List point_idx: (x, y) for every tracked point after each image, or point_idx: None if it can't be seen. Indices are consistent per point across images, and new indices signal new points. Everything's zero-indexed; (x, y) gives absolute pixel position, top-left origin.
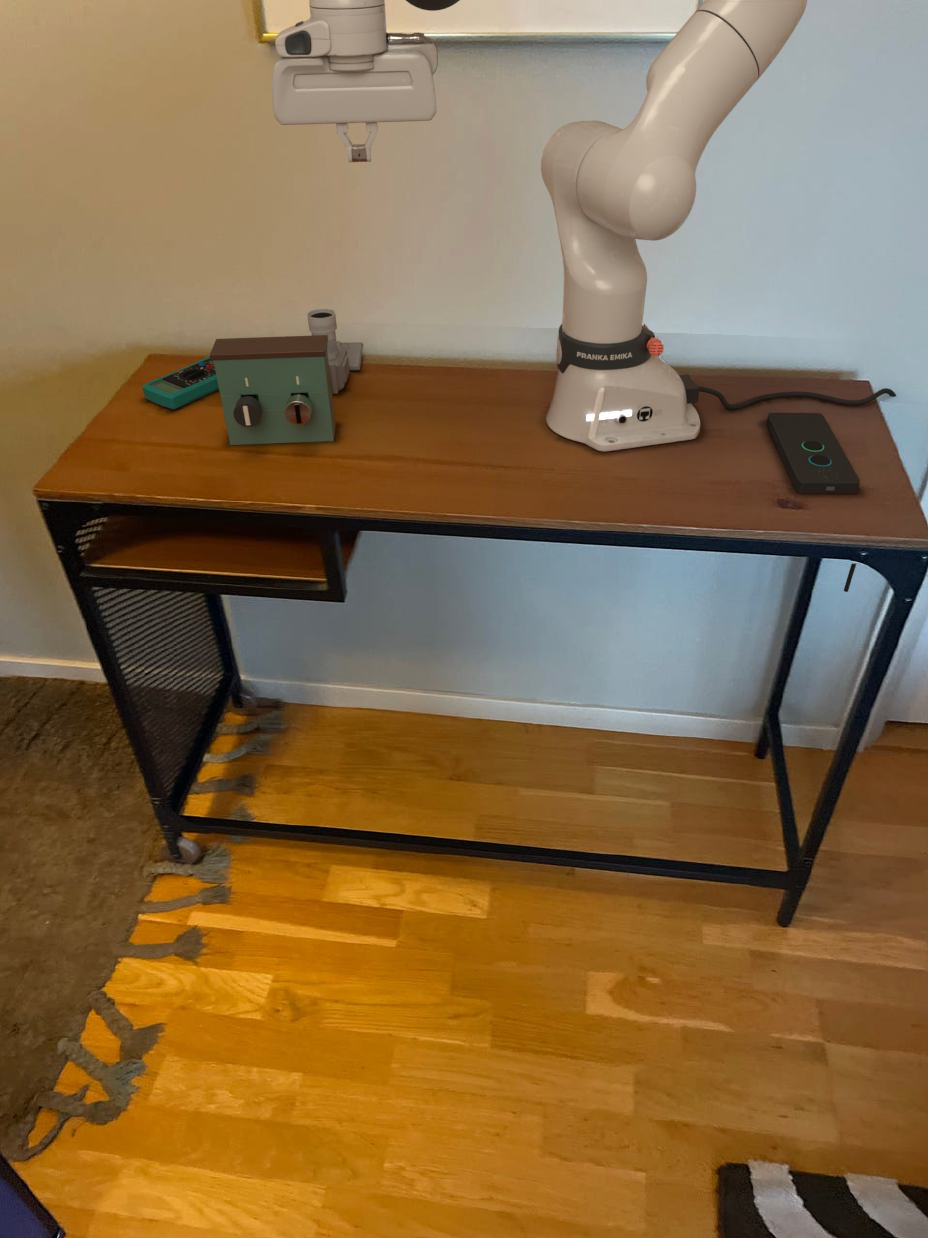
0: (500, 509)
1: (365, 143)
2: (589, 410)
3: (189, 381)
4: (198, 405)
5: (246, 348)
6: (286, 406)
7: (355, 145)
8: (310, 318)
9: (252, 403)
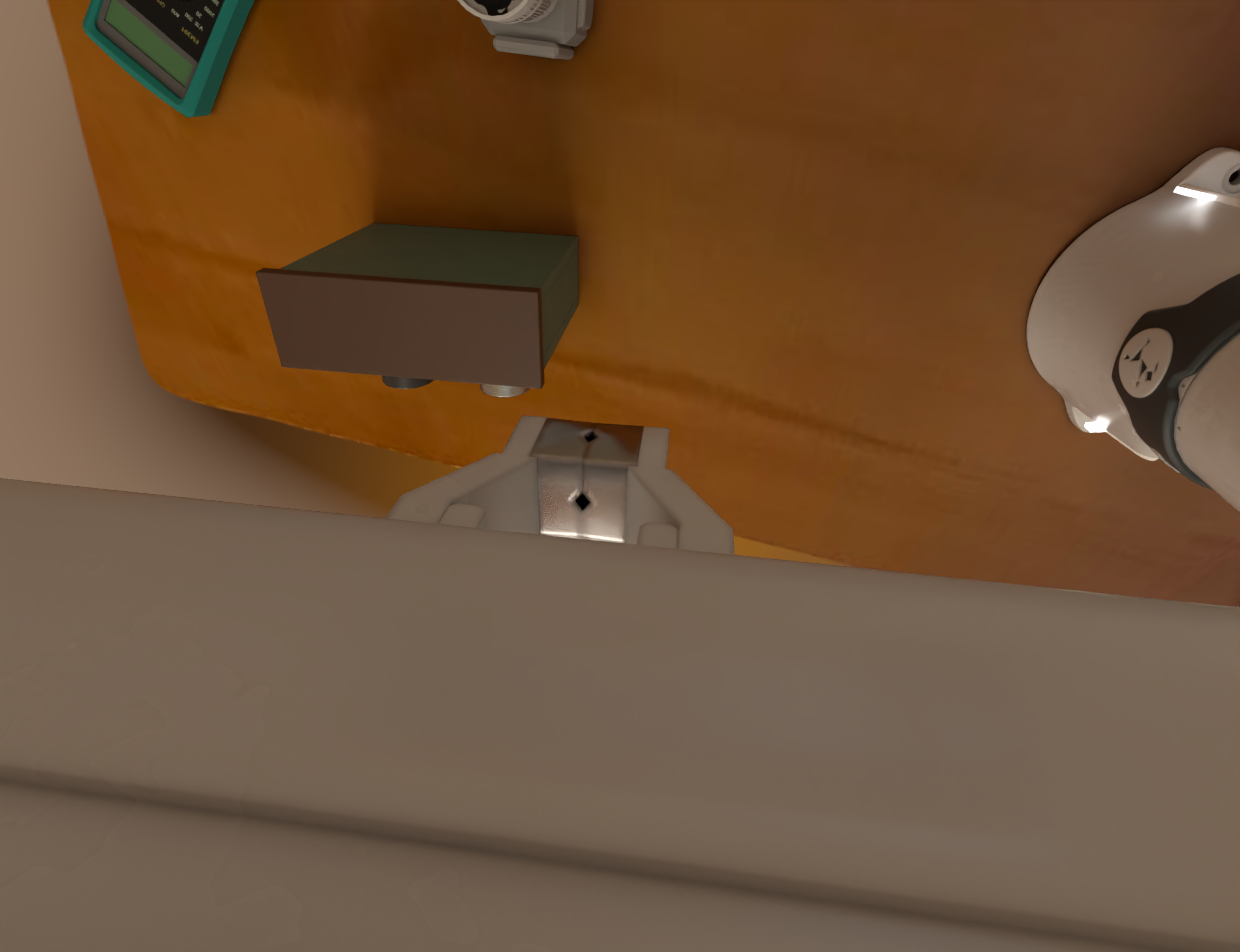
0: (828, 544)
1: (629, 490)
2: (1104, 425)
3: (185, 17)
4: (249, 80)
5: (353, 346)
6: (481, 389)
7: (559, 488)
8: (459, 1)
9: (413, 382)
